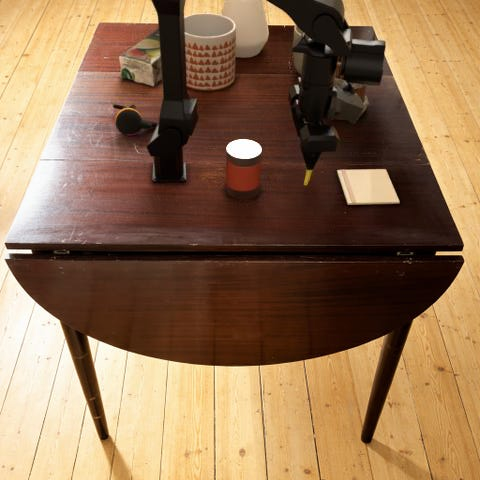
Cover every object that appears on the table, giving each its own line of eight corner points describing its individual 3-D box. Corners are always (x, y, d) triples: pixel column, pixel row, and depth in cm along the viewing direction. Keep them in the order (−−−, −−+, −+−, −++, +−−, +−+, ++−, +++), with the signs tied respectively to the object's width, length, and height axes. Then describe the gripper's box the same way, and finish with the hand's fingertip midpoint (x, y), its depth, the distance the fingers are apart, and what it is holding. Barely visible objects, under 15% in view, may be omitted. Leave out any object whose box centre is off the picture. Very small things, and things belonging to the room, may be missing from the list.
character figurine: (109, 124, 136) (114, 135, 126) (113, 98, 134) (118, 107, 124) (154, 133, 140) (163, 144, 129) (159, 108, 137) (168, 117, 127)
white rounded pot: (226, 35, 166) (227, -20, 155) (274, 43, 163) (277, -13, 153) (209, 56, 157) (209, -2, 147) (259, 64, 154) (262, 6, 144)
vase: (171, 87, 145) (167, 32, 135) (188, 62, 154) (186, 9, 145) (226, 95, 143) (227, 40, 133) (240, 70, 152) (242, 16, 143)
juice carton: (153, 89, 144) (151, 63, 139) (117, 80, 146) (114, 54, 142) (193, 57, 156) (192, 32, 152) (159, 49, 159) (157, 25, 155)
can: (260, 199, 116) (263, 158, 109) (226, 200, 115) (227, 159, 108) (257, 179, 120) (260, 138, 113) (224, 180, 119) (225, 139, 113)
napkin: (399, 203, 116) (399, 201, 116) (347, 204, 115) (348, 202, 115) (385, 170, 123) (386, 168, 123) (336, 171, 123) (337, 169, 122)
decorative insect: (310, 191, 121) (309, 186, 111) (294, 187, 121) (291, 182, 111) (326, 125, 119) (327, 114, 109) (309, 121, 119) (309, 110, 109)
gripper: (377, 105, 96) (359, 187, 108) (353, 53, 109) (340, 132, 121) (308, 106, 96) (297, 189, 107) (292, 53, 108) (284, 132, 120)
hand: (307, 159), depth 114 cm, fingers closed on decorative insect, 6 cm apart
